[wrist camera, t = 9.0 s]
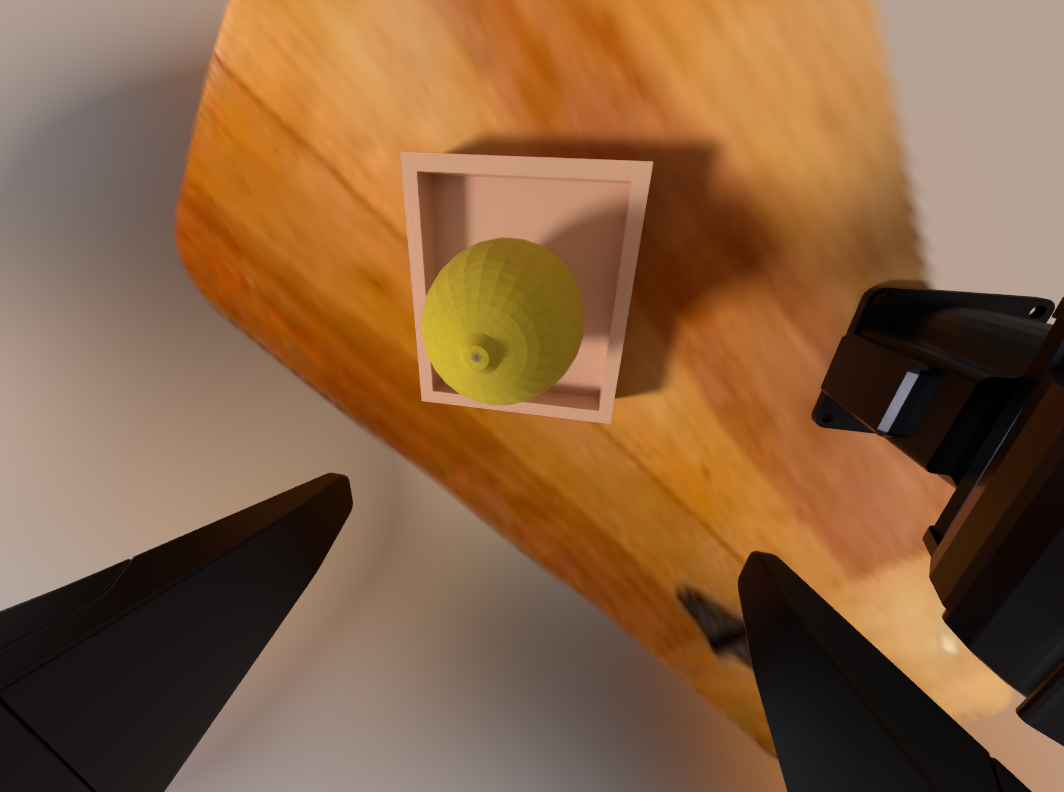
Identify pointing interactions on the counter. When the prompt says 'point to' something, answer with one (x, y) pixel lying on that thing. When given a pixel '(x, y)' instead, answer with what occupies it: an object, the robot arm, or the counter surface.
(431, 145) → the counter surface
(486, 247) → the lemon
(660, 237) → the counter surface
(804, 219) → the counter surface
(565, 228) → the dish
